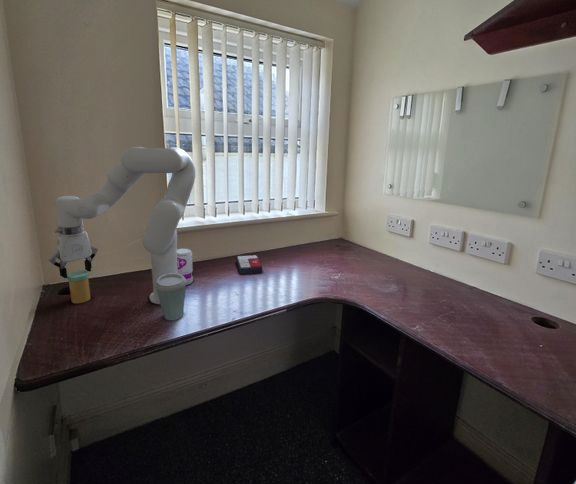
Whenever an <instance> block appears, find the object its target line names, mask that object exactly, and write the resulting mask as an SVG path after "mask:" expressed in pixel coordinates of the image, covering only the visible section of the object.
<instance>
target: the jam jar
mask: <svg viewBox="0 0 576 484" xmlns="http://www.w3.org/2000/svg"><path fill="white" fill-rule="evenodd" d="M68 287H69V295H70V301H71V303H72V304H83V303H86V302H88V301H90V300H91V299H92V298H91V297H92V296H91V289H90V280H89V277H88V278H87V279H84V280H81V281H75V282H72V281H68Z"/></svg>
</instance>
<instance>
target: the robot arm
mask: <svg viewBox="0 0 576 484" xmlns="http://www.w3.org/2000/svg"><path fill="white" fill-rule="evenodd" d="M196 173H197V172H196V166H195V163H194V160H193V159H192V158H191V156H190V155H189V154H188V153H187V151H186V150H184V149H182V148H180V147H173V146H172V147H144V146H131V147H127V148H126V149H125V150H124V151H123V152H122V154H121V156H120V161H119V162H118V163H116V164H115V165H114V166H113V168H111V169H110V170H109V171H108V173H107V175H106V177H107V179H106V181H105V183H104V184H103V185H102V186H101V187H100V188H99V189H98V190H97V191H96V192H94V194H91V195H89V196H86V197H82V198H80V197H78V196H76V195H63V196H58V197H57V198H56V199H55V208H56V209H55V210H56V216H57V217H56V218H57V224H58V226H57V228H55V229H54V233H55V234H57V236H56V251H55V253H53V254H52V256H50V257H49V258H48V259H47V261H48V262H49V263H51V264H52V265H54V266H55V267H57V268H58V271H59V275H60V277H62V278H64V279H67V275H68V271H67V268H66V265H67V263H71V262H74V261H79V260H83V259H85V260H83V262H84V269H85V270H84V271H88V273H90V272H92V268H93V267H92V262H93V259H94V258H95V257H96V254H97V252H98V251H99V249H98V248H97V247H94V246H92V245H91V242H90V238H89V235H88V232H87V231H86V230H85V227H84V221H83V219H84V220H91V219H95V218H96V217H98V216H100V215H102V214H103V213H106V212H107V211H108V210H110V209H111V208H112V207H113V206H114V205H115V204H116V203H117V202H118V201H119V200H121V198H123V196H124V194H125V193H127V192H128V191H129V189H130V188H131V187H133V185H134V184H136V182H137V181H138V180H140V179H141V178H142V177H143V176H144V175H145V174H171V177H170V179H169V180H168V181H169V182H168V184H167V187H166V190H165V192H164V195H163V196H162V199H161V200H159V201H158V202H157V203H156V204H155V206H154V207H153V209H152V211H151V213H150V216H149V219H148V222H147V224H146V227H145V229H144V232H143V236H142V245H143V247H144V249H145V250H146V251H147V252H149V253H150V265H151V278H152V292H151V293H150V295H149V301H150V302H151V303H153V304H155V305H161V304H160V301H159V297H158V293H157V290H156V288H155V282H156V281H157V278H159V277H160V276H161V275H164V274H168V273H178V269H177V249H178V231H177V228H178V225H179V222H180V220H181V219H182V218H183V216H184V214H185V211H186V208H187V204H188V202H189V199H190V196H191V193H192V191H193V187H194V184H195V180H196ZM56 260H58V262H57V261H56Z"/></svg>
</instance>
